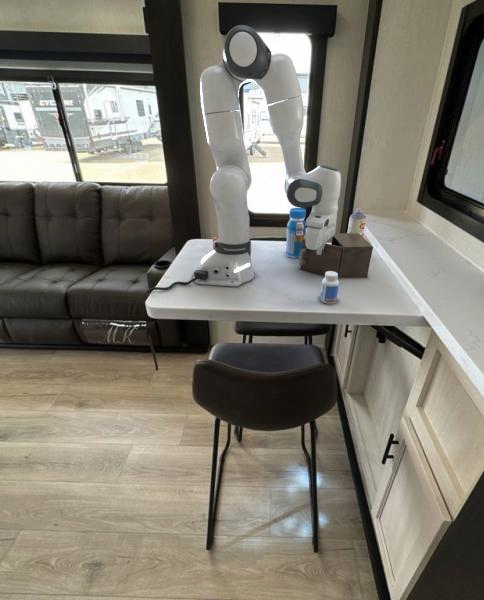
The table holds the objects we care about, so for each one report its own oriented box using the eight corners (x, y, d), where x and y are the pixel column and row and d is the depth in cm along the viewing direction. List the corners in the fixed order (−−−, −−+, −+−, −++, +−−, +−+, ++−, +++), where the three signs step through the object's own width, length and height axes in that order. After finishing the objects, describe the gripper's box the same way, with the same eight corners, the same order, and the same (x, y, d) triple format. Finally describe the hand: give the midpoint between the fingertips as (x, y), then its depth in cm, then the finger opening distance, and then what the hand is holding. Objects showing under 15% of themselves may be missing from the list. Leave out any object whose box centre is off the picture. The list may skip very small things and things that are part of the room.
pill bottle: (339, 300, 102) (343, 274, 97) (330, 306, 98) (333, 278, 94) (326, 294, 105) (329, 268, 100) (316, 299, 102) (319, 273, 97)
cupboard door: (333, 282, 113) (338, 251, 107) (295, 272, 119) (298, 242, 113) (337, 277, 117) (342, 247, 110) (301, 268, 123) (303, 238, 117)
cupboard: (339, 278, 116) (344, 246, 110) (328, 261, 130) (332, 233, 124) (366, 277, 118) (373, 246, 111) (353, 261, 131) (358, 233, 125)
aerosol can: (356, 256, 136) (365, 211, 126) (342, 253, 139) (349, 209, 129) (361, 252, 141) (369, 208, 131) (347, 249, 144) (354, 206, 134)
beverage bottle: (282, 256, 134) (284, 210, 123) (288, 250, 140) (291, 206, 130) (300, 259, 131) (304, 213, 121) (306, 253, 138) (310, 208, 128)
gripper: (326, 209, 115) (322, 243, 122) (303, 221, 100) (300, 260, 107) (342, 211, 113) (337, 247, 120) (321, 224, 97) (317, 264, 104)
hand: (319, 253), depth 113 cm, fingers closed
